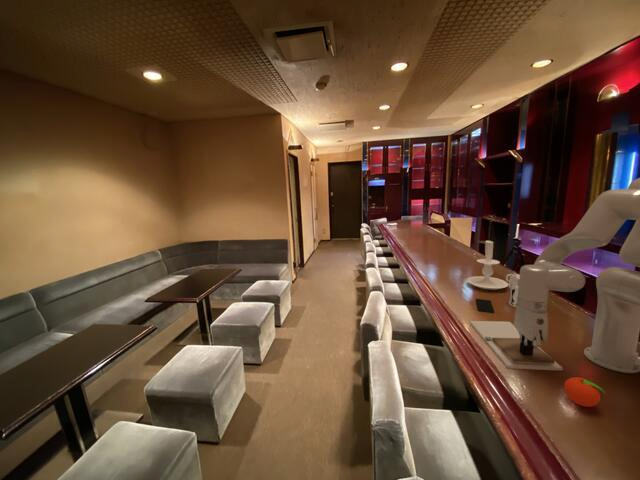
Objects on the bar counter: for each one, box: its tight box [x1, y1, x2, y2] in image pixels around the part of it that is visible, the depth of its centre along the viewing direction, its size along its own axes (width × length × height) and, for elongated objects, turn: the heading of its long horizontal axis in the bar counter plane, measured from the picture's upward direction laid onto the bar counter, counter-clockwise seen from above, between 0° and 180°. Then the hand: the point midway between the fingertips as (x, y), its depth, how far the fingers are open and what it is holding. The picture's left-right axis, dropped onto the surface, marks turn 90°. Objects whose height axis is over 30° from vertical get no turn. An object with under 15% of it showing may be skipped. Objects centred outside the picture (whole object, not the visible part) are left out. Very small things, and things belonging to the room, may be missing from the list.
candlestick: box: [466, 240, 513, 291], centre depth 151 cm, size 21×25×28 cm
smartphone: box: [475, 298, 495, 314], centre depth 130 cm, size 7×1×15 cm
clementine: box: [563, 376, 607, 408], centre depth 70 cm, size 8×7×7 cm
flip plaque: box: [492, 338, 556, 364], centre depth 92 cm, size 14×12×1 cm
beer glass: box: [508, 273, 520, 308], centre depth 128 cm, size 7×7×15 cm
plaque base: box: [469, 320, 563, 372], centre depth 99 cm, size 30×16×2 cm, turn 172°
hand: (525, 354), depth 88 cm, fingers closed
